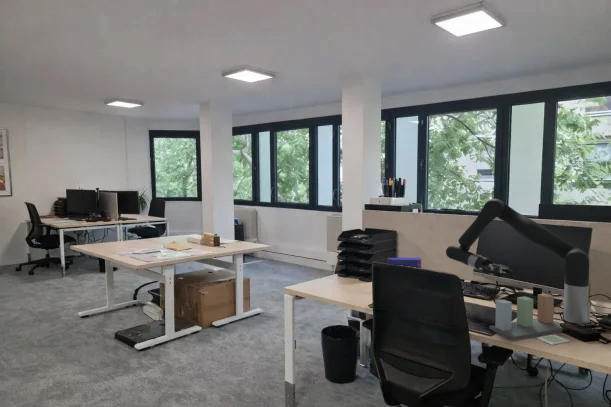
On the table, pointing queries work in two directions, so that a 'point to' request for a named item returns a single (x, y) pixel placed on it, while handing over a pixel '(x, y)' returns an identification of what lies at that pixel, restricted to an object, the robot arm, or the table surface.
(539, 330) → the board
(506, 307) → the greyblue block
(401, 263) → the cereal box
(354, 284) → the table surface
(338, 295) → the table surface
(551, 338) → the card
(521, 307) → the sage block
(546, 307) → the terracotta block
